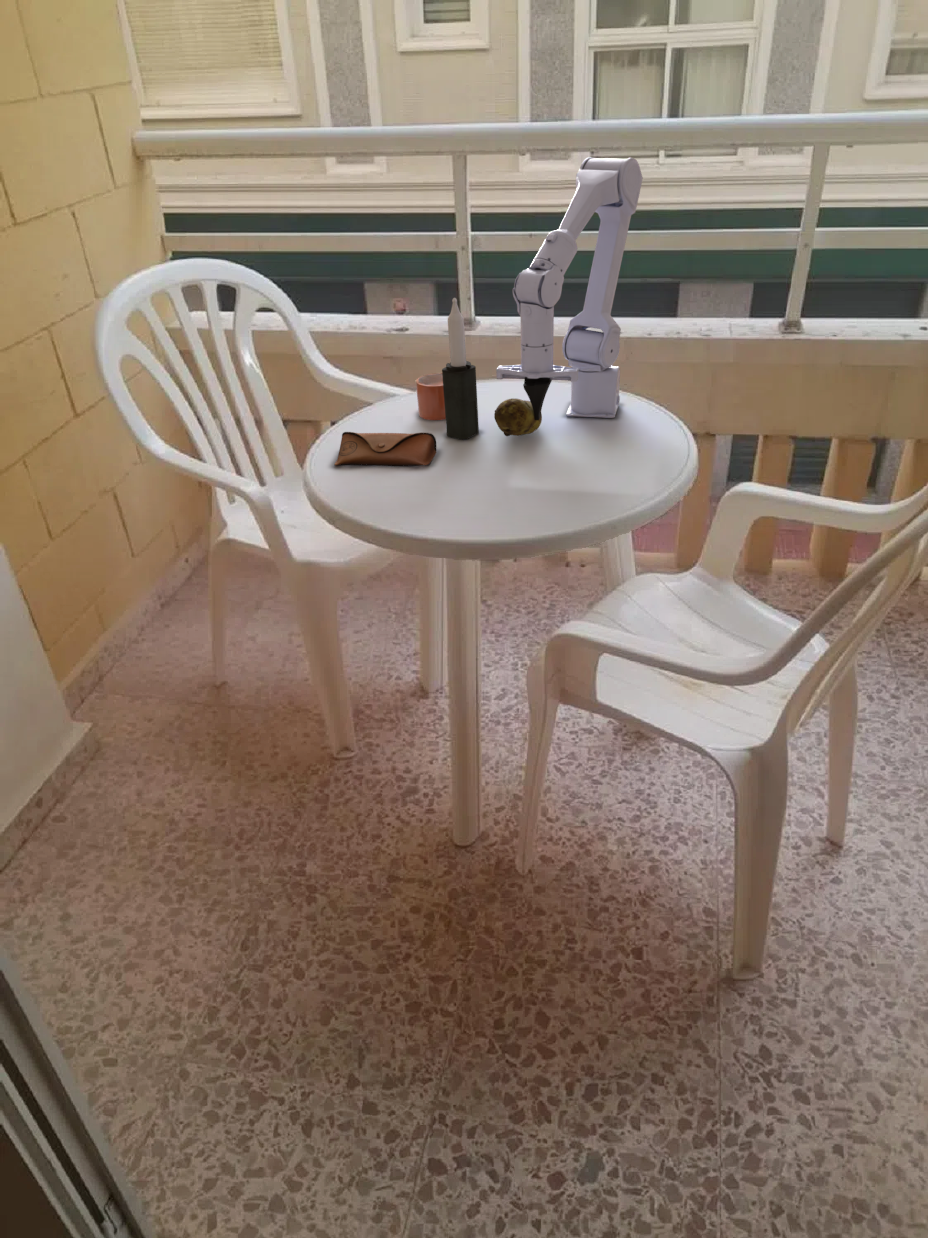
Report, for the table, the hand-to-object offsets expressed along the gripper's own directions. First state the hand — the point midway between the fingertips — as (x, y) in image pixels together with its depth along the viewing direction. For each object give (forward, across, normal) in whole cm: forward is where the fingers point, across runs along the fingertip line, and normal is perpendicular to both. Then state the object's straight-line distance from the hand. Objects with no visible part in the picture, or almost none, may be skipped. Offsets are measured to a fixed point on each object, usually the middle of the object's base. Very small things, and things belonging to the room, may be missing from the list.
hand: (537, 418), depth 151 cm
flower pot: (+4, -23, +11) cm, 26 cm away
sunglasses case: (+5, -26, -12) cm, 29 cm away
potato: (+4, -2, +2) cm, 5 cm away
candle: (+4, -15, +1) cm, 15 cm away
